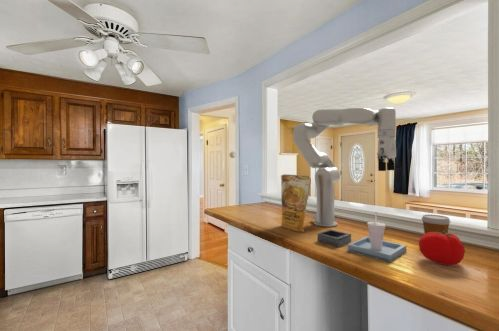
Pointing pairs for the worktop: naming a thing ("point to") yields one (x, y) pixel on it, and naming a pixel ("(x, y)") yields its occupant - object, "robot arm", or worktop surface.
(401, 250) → the tray
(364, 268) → the worktop surface
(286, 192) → the pancake mix bag
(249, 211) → the worktop surface
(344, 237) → the dark grey open box
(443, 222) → the disposable coffee cup
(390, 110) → the robot arm
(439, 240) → the tomato
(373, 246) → the smoothie
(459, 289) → the worktop surface
